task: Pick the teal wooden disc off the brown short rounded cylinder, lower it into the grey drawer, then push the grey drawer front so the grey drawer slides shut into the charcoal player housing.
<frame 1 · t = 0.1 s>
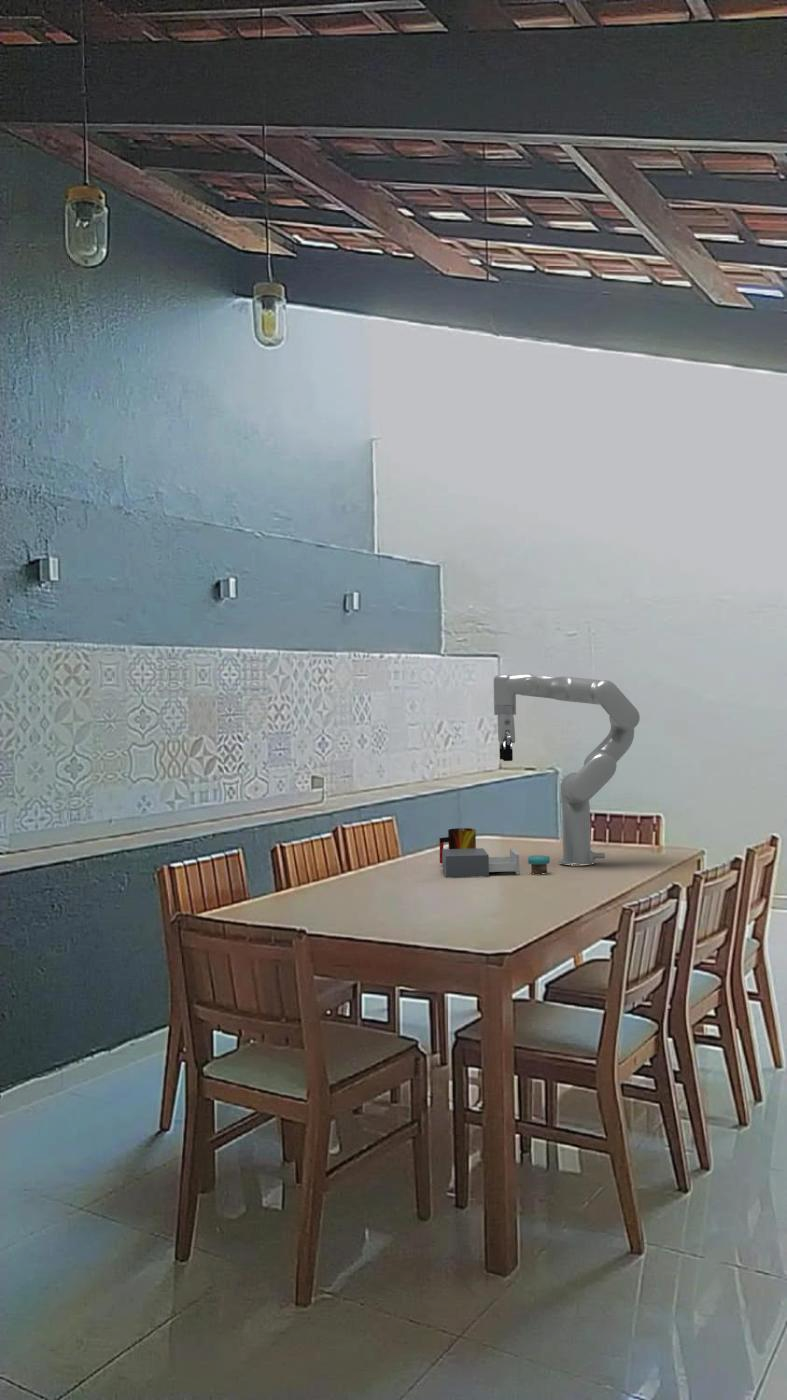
hand: (506, 760, 401), 37 cm above the table, tool pointing down, fingers open, 9 cm apart
housing: (465, 873, 388), on the table
grey drawer: (496, 861, 388), point 4 cm above the table, slide at 9.0 cm
brown short rounded cylinder: (539, 873, 383), on the table
mug: (460, 865, 408), on the table
disc: (538, 862, 383), point 3 cm above the table, touching brown short rounded cylinder
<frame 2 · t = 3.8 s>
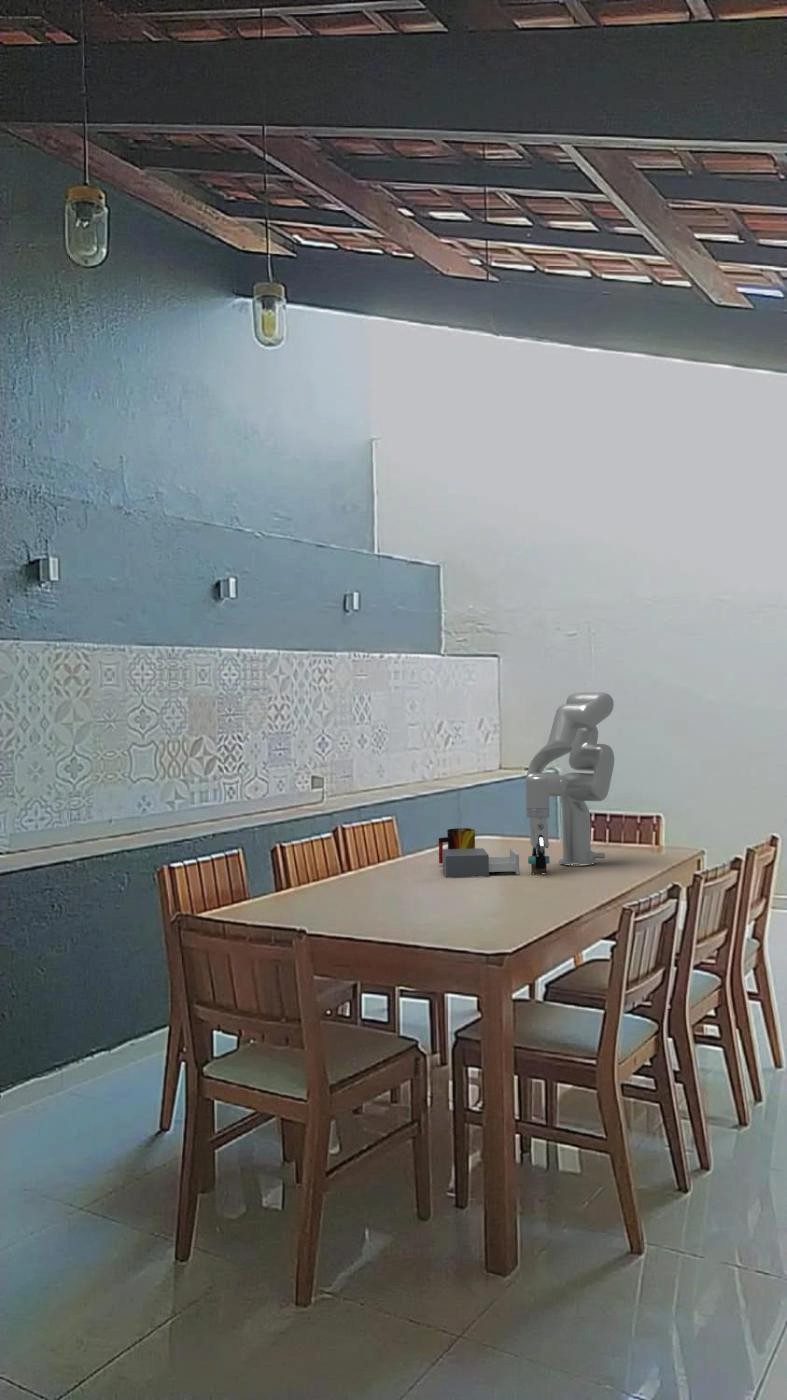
hand: (538, 866, 383), 2 cm above the table, tool pointing down, fingers closed on disc, 7 cm apart
disc: (538, 862, 383), point 3 cm above the table, touching gripper, brown short rounded cylinder
everything else where it was.
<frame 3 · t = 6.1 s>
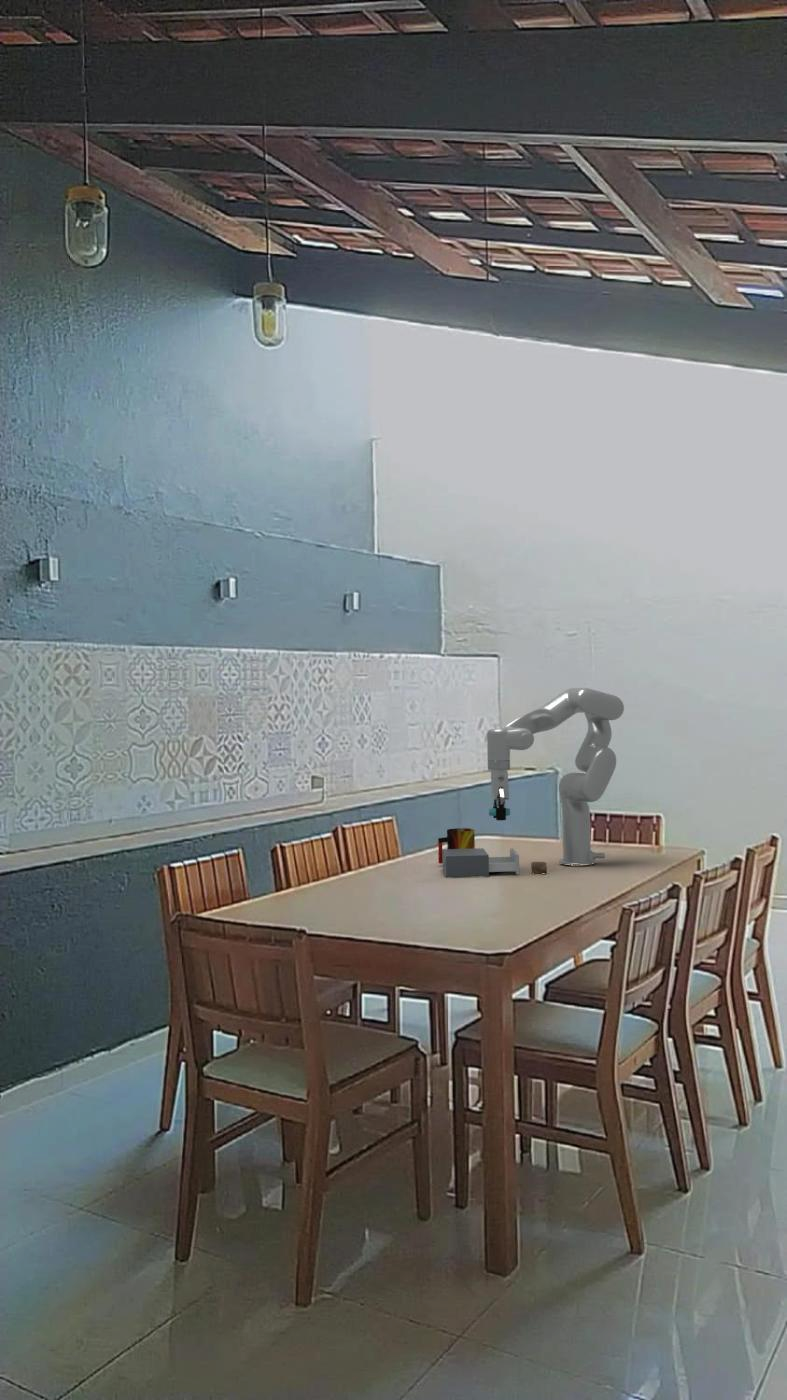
hand: (499, 818, 388), 18 cm above the table, tool pointing down, fingers closed on disc, 7 cm apart
disc: (499, 814, 388), point 19 cm above the table, touching gripper
everything else where it was.
when the fingers open (4 cm above the table, at t = 8.7 s): disc drops 3 cm, resting on grey drawer.
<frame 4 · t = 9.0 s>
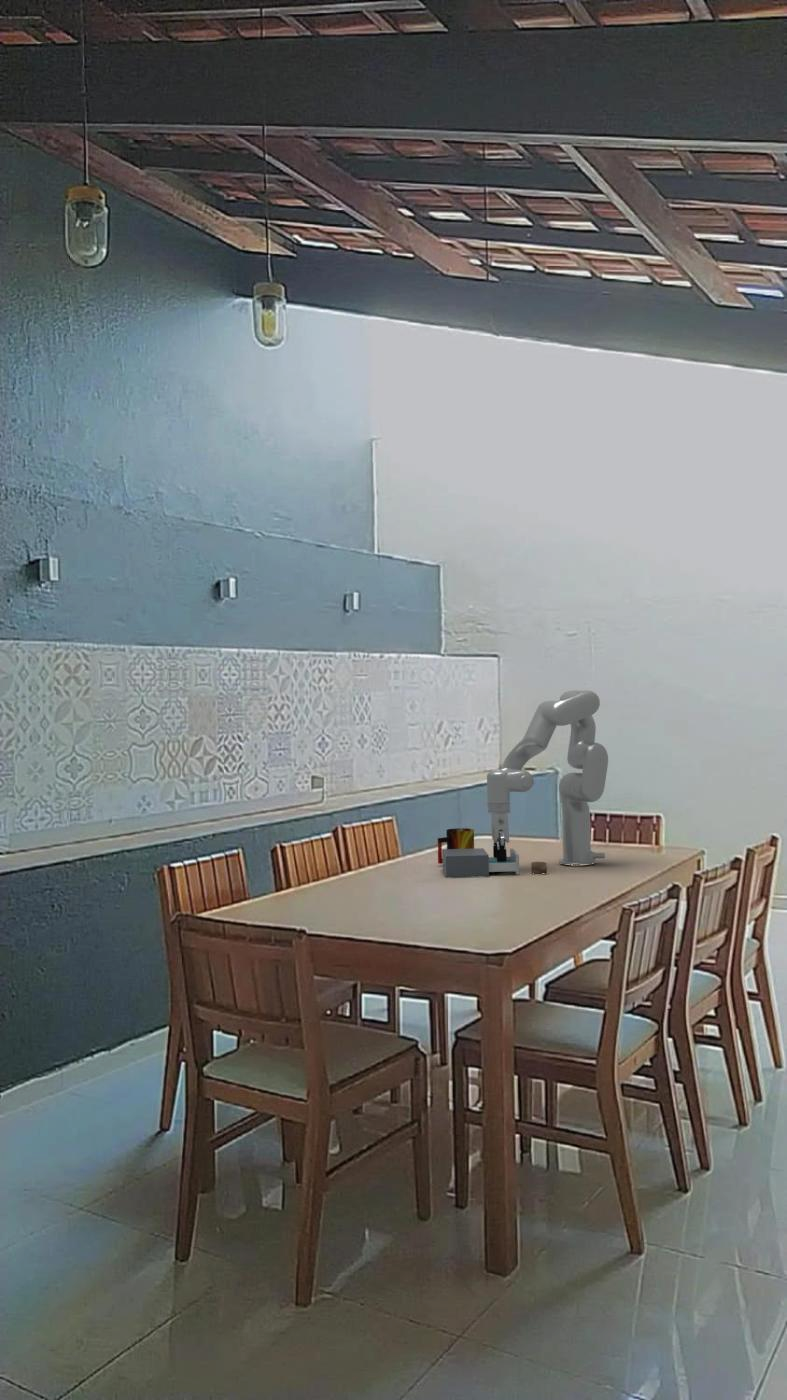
hand: (499, 859, 388), 4 cm above the table, tool pointing down, fingers open, 9 cm apart
grey drawer: (496, 861, 388), point 4 cm above the table, slide at 9.0 cm, touching disc
disc: (500, 866, 388), point 2 cm above the table, touching grey drawer
everything else where it was.
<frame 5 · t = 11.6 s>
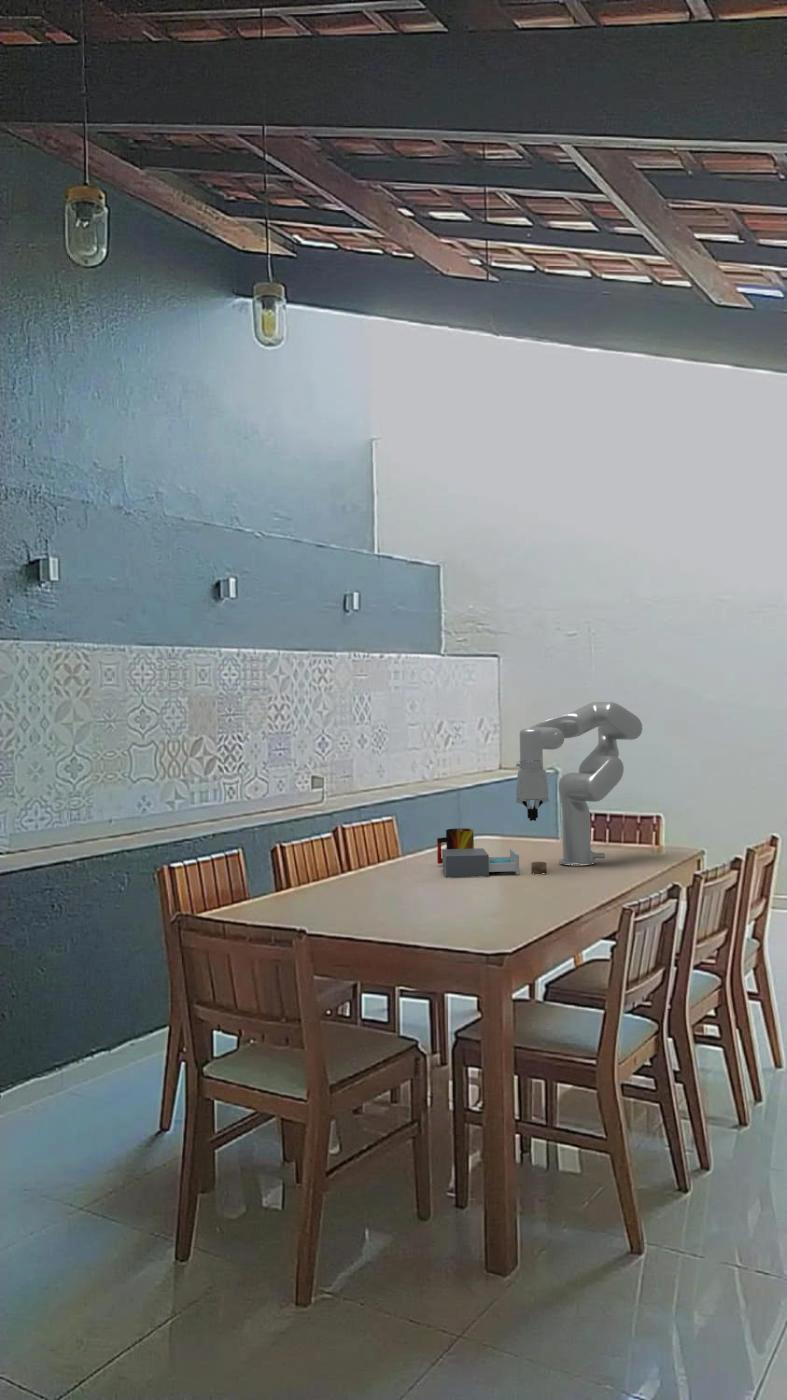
hand: (532, 820, 388), 17 cm above the table, tool pointing down, fingers closed
nothing on the table moved.
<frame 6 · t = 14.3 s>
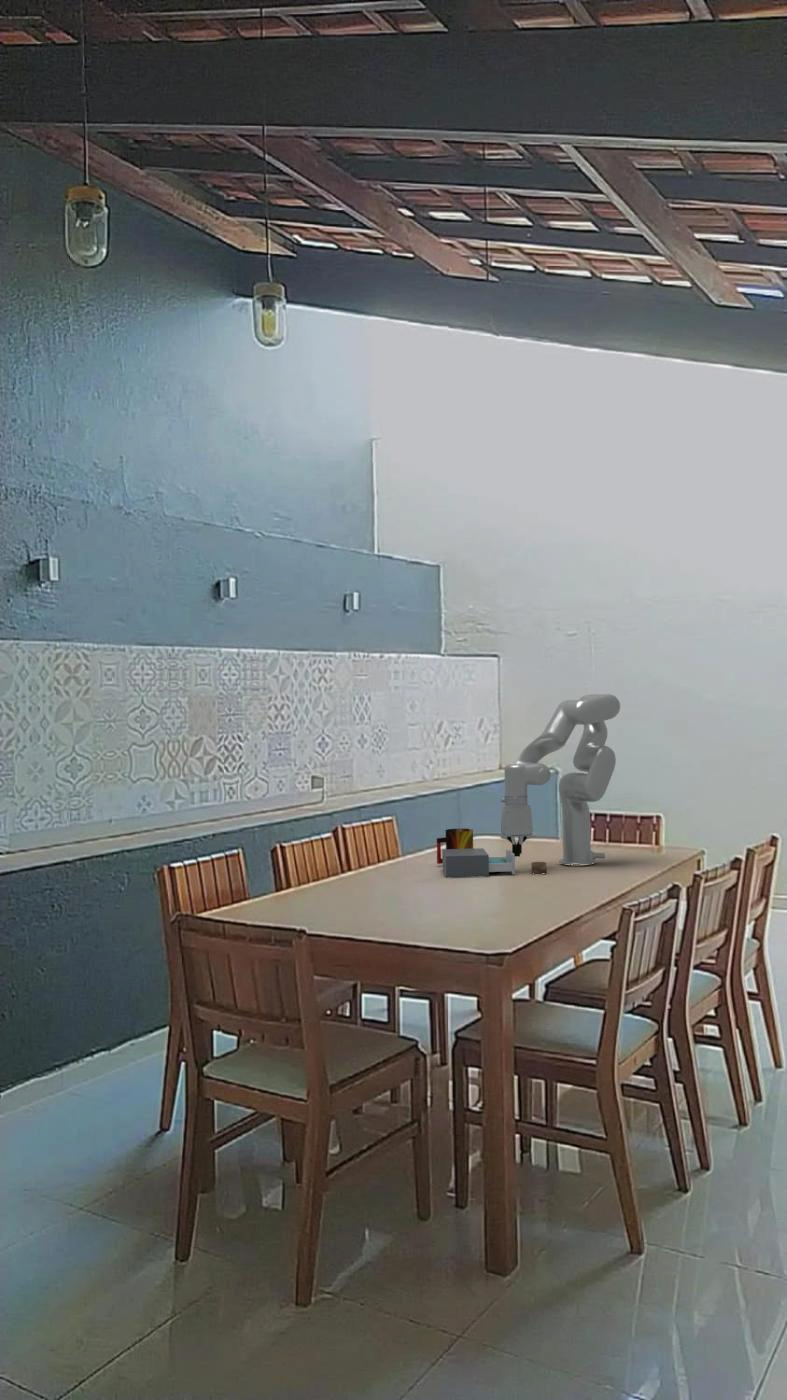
hand: (516, 855, 388), 5 cm above the table, tool pointing down, fingers closed
grey drawer: (491, 861, 388), point 4 cm above the table, slide at 7.6 cm, touching disc, gripper
disc: (496, 866, 388), point 2 cm above the table, touching grey drawer
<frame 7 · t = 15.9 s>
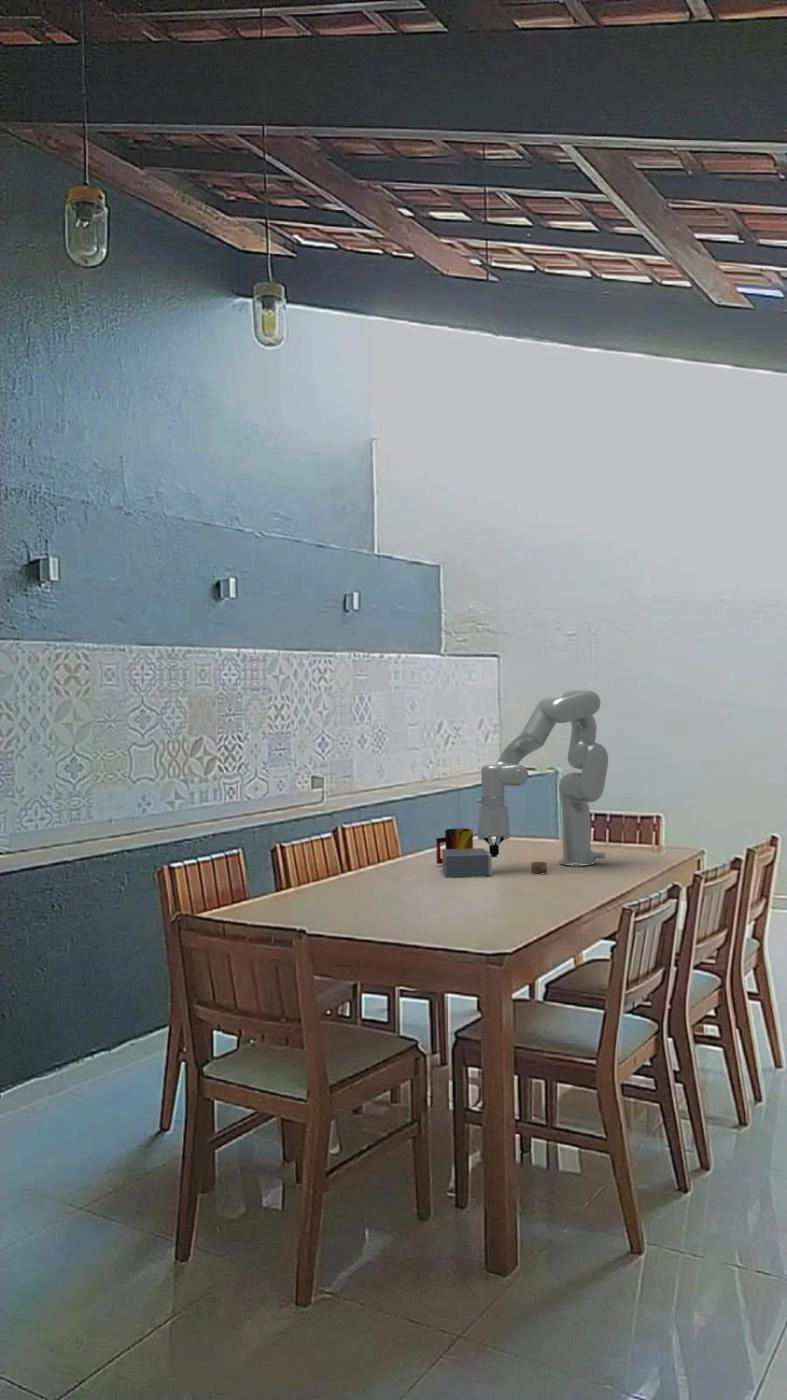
hand: (494, 856, 388), 5 cm above the table, tool pointing down, fingers closed
grey drawer: (469, 862, 388), point 4 cm above the table, slide at 0.0 cm, touching disc, gripper
disc: (473, 866, 388), point 2 cm above the table, touching grey drawer
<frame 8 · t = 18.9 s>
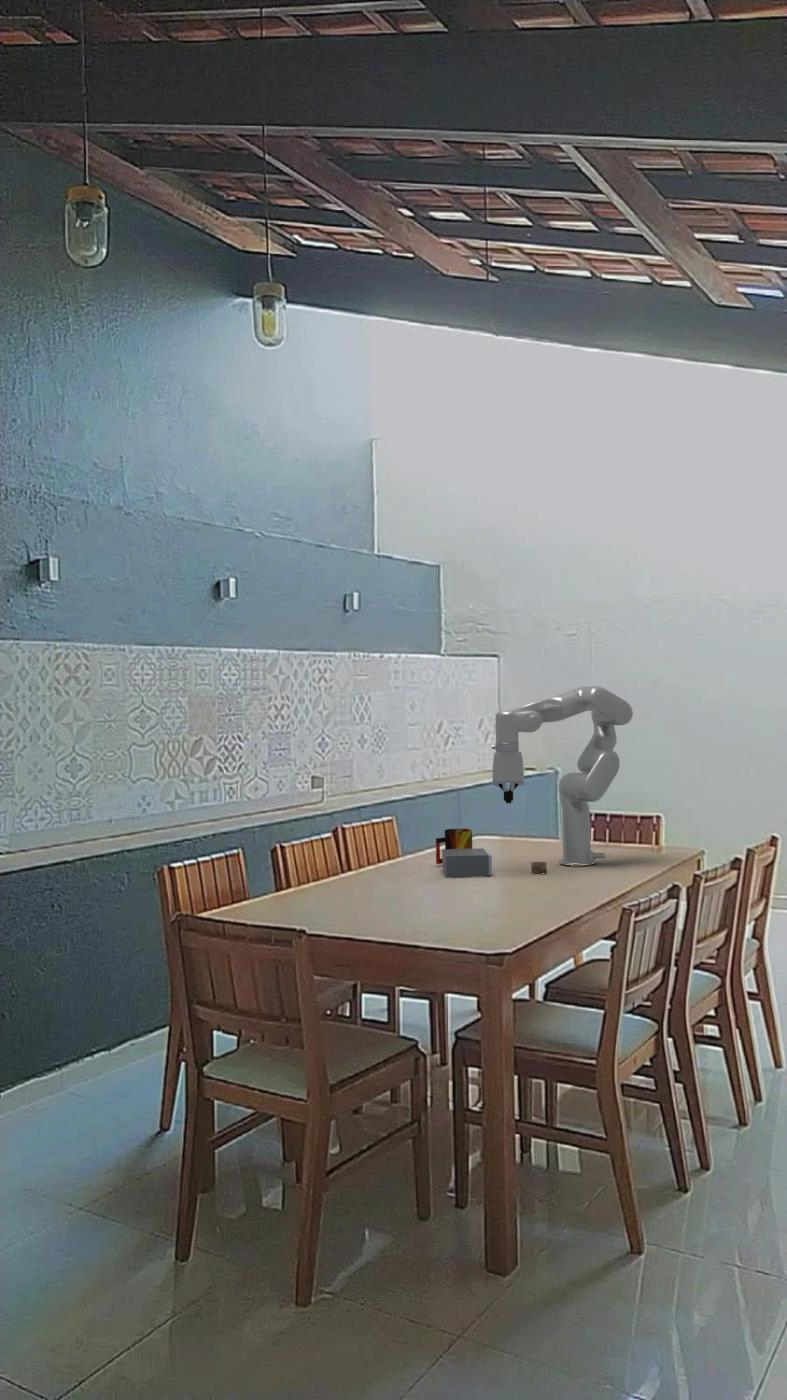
hand: (508, 802, 388), 23 cm above the table, tool pointing down, fingers closed
grey drawer: (469, 862, 388), point 4 cm above the table, slide at 0.0 cm, touching disc
at the end: grey drawer slide at 0.0 cm; disc inside the target area on the housing (2.7 cm from its centre), point 2.1 cm above the housing's base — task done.
